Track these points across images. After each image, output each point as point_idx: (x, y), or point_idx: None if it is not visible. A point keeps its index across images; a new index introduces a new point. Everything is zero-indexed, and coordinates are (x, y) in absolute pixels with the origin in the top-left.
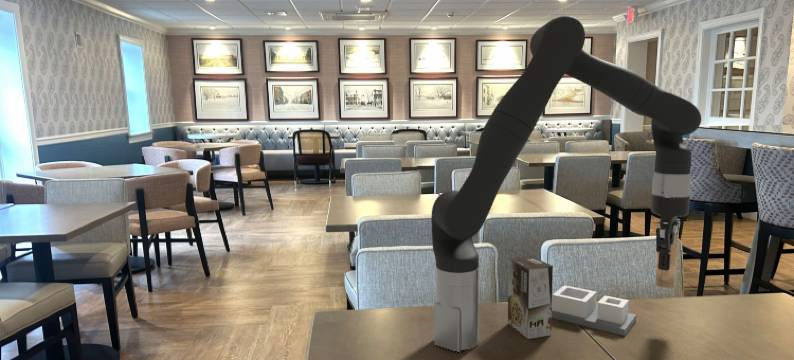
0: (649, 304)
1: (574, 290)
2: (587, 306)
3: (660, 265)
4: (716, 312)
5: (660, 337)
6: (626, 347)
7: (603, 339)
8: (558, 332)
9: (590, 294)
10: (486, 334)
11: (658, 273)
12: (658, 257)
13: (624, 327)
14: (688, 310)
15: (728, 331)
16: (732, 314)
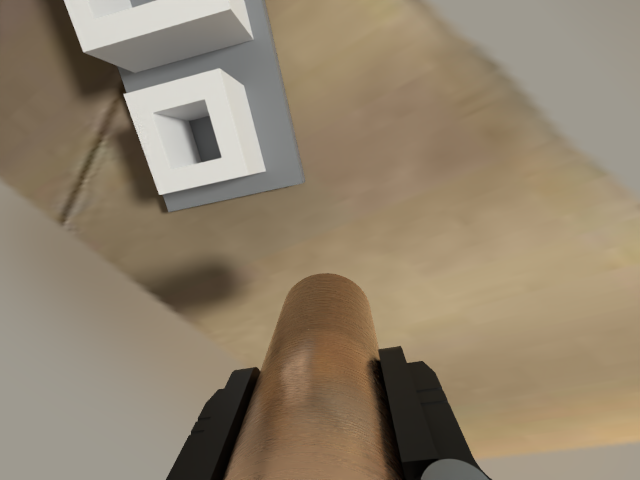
0: (482, 146)
1: None
2: (126, 55)
3: (207, 409)
4: (546, 319)
5: (250, 275)
6: (126, 241)
7: (113, 177)
8: (31, 52)
9: (174, 9)
10: None
11: (273, 335)
12: (248, 413)
13: (180, 203)
14: (509, 258)
15: None
16: (557, 351)
